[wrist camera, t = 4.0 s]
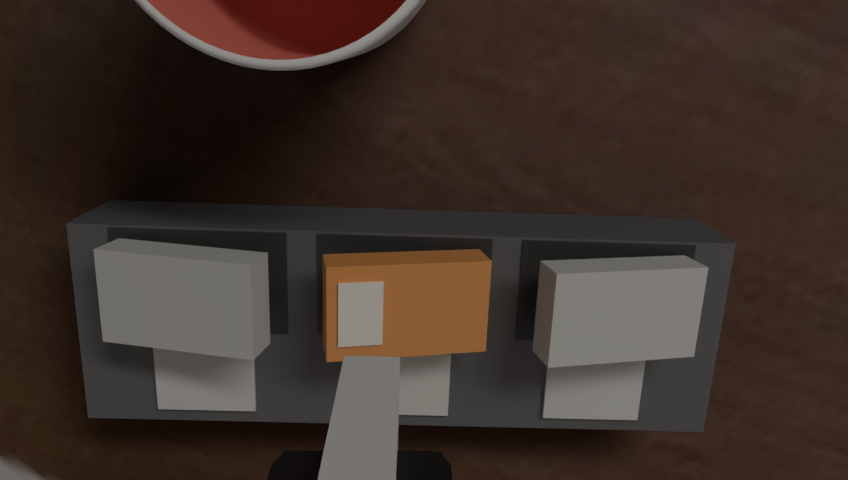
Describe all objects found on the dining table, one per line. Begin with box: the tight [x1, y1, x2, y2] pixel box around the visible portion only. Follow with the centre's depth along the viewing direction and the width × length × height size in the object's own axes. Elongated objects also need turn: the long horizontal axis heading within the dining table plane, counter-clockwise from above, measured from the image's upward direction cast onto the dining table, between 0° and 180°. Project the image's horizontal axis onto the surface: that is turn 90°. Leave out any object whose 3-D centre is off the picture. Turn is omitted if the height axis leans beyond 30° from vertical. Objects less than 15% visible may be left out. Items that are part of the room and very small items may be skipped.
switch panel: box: [66, 200, 736, 432], centre depth 30 cm, size 26×8×4 cm, turn 88°
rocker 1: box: [93, 238, 270, 360], centre depth 25 cm, size 6×4×2 cm, turn 87°
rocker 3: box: [532, 255, 708, 368], centre depth 26 cm, size 6×4×2 cm, turn 88°
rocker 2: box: [322, 249, 492, 362], centre depth 25 cm, size 6×4×2 cm, turn 88°
